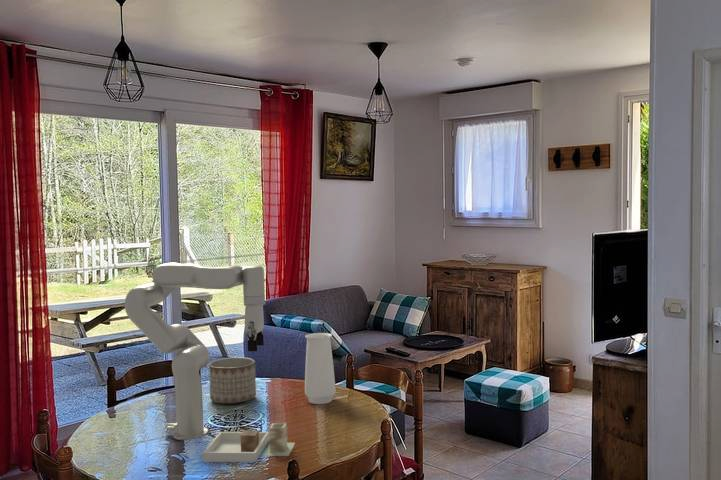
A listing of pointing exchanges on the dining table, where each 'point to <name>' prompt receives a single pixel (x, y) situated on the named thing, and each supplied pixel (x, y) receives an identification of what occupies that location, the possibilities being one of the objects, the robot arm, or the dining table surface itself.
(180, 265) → the robot arm
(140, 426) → the dining table surface
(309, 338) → the vase
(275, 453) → the pad
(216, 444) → the bin
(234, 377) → the planter
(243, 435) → the walnut block
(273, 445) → the birch box
